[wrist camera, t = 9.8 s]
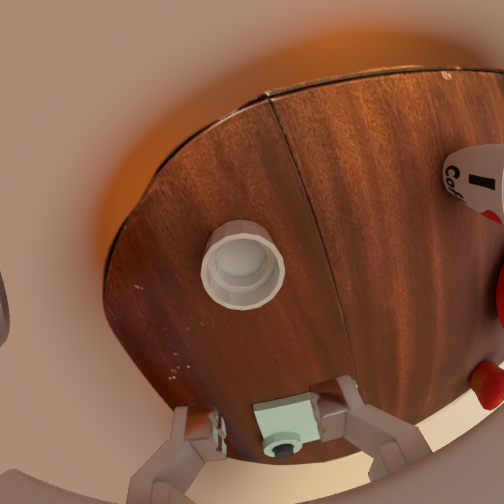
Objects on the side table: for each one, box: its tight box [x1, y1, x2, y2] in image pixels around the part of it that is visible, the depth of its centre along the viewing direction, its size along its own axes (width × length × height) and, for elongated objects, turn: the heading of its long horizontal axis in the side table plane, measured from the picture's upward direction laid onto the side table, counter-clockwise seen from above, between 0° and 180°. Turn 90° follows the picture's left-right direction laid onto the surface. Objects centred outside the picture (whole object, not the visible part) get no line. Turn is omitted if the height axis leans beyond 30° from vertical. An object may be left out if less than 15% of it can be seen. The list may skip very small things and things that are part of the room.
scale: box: [253, 379, 358, 457], centre depth 33 cm, size 14×12×3 cm
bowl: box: [201, 219, 285, 310], centre depth 23 cm, size 6×6×5 cm
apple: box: [470, 361, 504, 410], centre depth 33 cm, size 9×8×12 cm
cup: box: [443, 144, 504, 225], centre depth 19 cm, size 8×8×10 cm
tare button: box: [274, 444, 294, 459], centre depth 32 cm, size 3×3×2 cm
